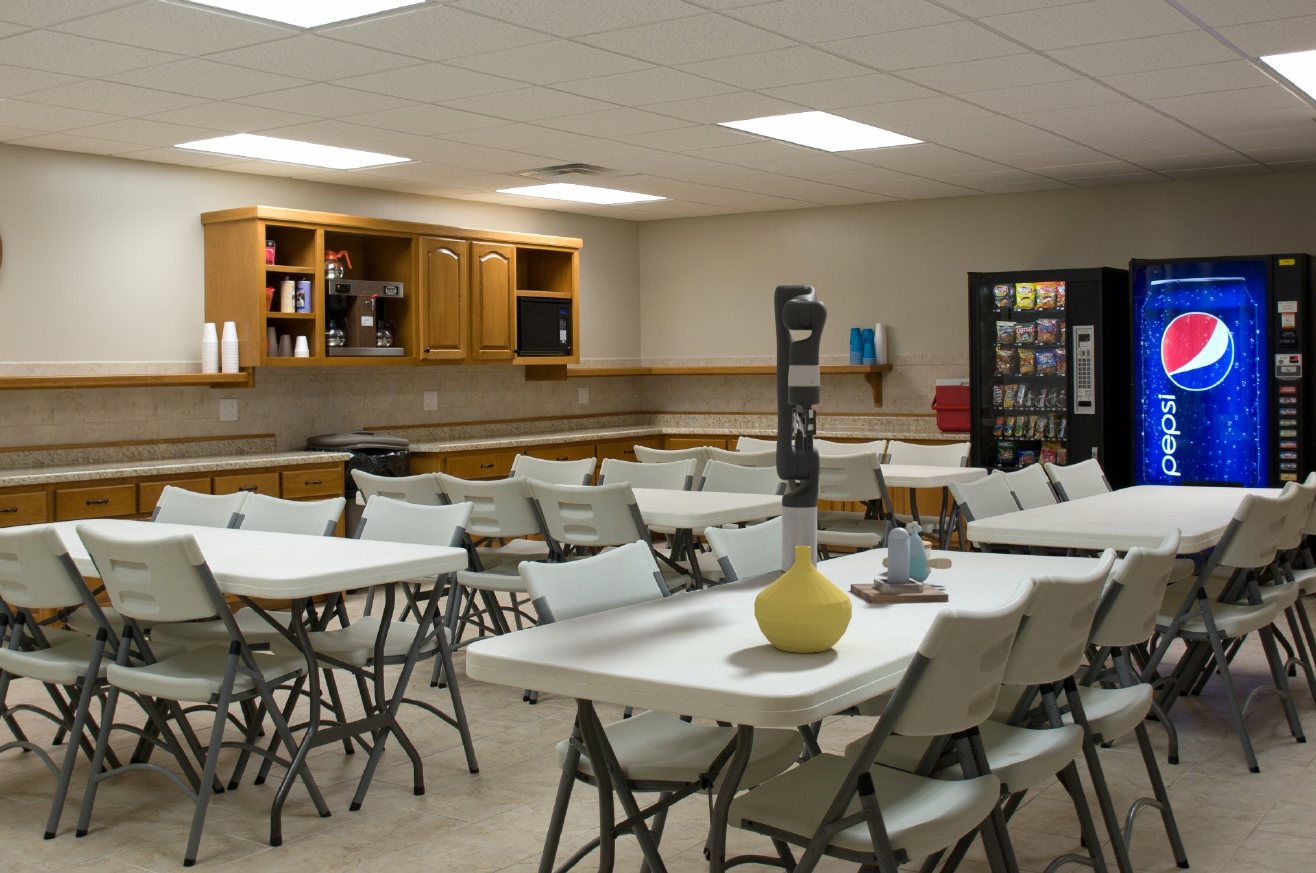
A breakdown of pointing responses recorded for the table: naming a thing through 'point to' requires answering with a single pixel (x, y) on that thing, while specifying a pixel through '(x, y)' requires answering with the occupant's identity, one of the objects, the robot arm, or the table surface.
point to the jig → (898, 592)
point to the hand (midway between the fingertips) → (803, 452)
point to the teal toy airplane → (920, 557)
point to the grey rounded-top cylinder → (898, 556)
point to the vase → (803, 608)
